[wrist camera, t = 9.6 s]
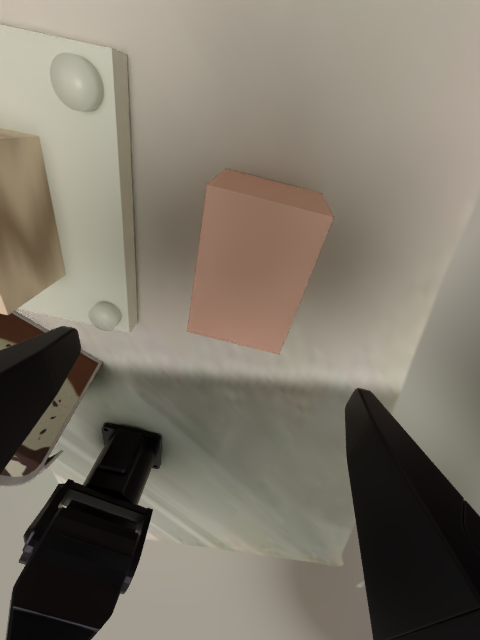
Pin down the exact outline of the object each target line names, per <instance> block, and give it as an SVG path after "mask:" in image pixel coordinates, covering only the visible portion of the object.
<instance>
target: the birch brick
mask: <svg viewBox="0 0 480 640" xmlns="http://www.w3.org/2000/svg"><path fill="white" fill-rule="evenodd" d="M65 275H66V272H65V266H64V261H63V256H62V251H61V246H60V241H59V236H58V231H57V226H56V220H55V215H54V210H53V205H52V200H51V195H50V190H49V185H48V180H47V174H46V169H45V164H44V159H43V154H42V149H41V144H40V139H39V136H35V135H30V134H26V133H21V132H17V131H12V130H7V129H3V128H0V314H5V315H9V314H11V313H12V312H13V311H15V310H16V309H18V308H19V307H21V306H22V305H23V304H25V303H26V302H28V301H29V300H31V299H32V298H33V297H35V296H36V295H38V294H39V293H41V292H42V291H43V290H45V289H46V288H48V287H49V286H51V285H52V284H53V283H55V282H56V281H58V280H59V279H61V278H62V277H63V276H65Z"/></svg>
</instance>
